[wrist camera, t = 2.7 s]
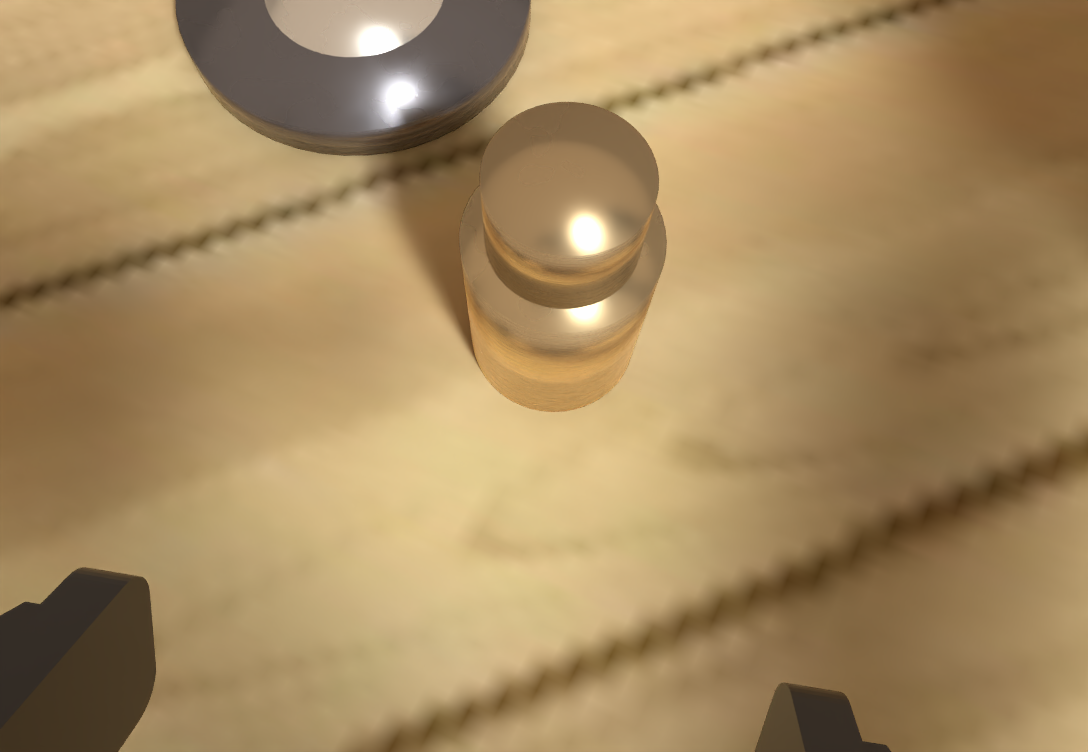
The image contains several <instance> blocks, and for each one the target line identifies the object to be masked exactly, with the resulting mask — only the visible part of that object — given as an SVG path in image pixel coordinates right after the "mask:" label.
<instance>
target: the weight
mask: <svg viewBox="0 0 1088 752" xmlns="http://www.w3.org/2000/svg"><path fill="white" fill-rule="evenodd" d="M658 190H659V175H658V168H657V164H656V160H655V157H654V155H653V153H652V150H651V149H650V147H649V145H648V143H647V142H646V140H645V139H644V138H643V137H642V135H641V134H640V133H639V132H638V131H637V130H636V129H635V128H634V127H633V126H632V125H631V124H629V123H628V122H627V121H625V120H624V119H623V118H621V117H619V116H618V115H616V114H614V113H612V112H610V111H608V110H605V109H603V108H600V107H597V106H594V105H589V104H584V103H576V102H557V103H549V104H544V105H540V106H536V107H534V108H531V109H528V110H526V111H524V112H522V113H520V114H518V115H516V116H515V117H513V118H512V119H510V120H509V121H508V122H506V123H505V124H504V125H503V126H502V127H501V128H500V129H499V130H498V131H497V132H496V133H495V135H494V136H493V137H492V139H491V140H490V142H489V143H488V145H487V148H486V150H485V152H484V154H483V158H482V161H481V167H480V185H479V186H478V187H477V188H476V190H475V191H474V193H473V194H472V196H471V197H470V199H469V201H468V203H467V205H466V208H465V210H464V213H463V216H462V220H461V224H460V231H459V247H460V255H461V262H462V270H463V277H464V284H465V292H466V299H467V306H468V314H469V321H470V329H471V336H472V343H473V350H474V354H475V357H476V360H477V363H478V365H479V367H480V369H481V371H482V373H483V374H484V376H485V377H486V379H487V380H488V381H489V382H490V383H491V385H492V386H493V387H494V388H495V389H496V390H497V391H499V392H500V393H501V394H502V395H504V396H505V397H507V398H508V399H510V400H511V401H513V402H515V403H517V404H519V405H522V406H525V407H527V408H530V409H535V410H539V411H548V412H560V411H568V410H574V409H577V408H581V407H584V406H586V405H588V404H591V403H593V402H595V401H596V400H598V399H600V398H601V397H603V396H604V395H605V394H607V393H608V392H609V391H610V390H611V389H612V388H613V387H614V386H615V385H616V384H617V383H618V381H619V380H620V379H621V377H622V376H623V374H624V372H625V370H626V368H627V367H628V364H629V361H630V358H631V356H632V353H633V350H634V347H635V344H636V342H637V339H638V336H639V333H640V330H641V328H642V325H643V322H644V319H645V316H646V314H647V311H648V308H649V305H650V302H651V299H652V297H653V294H654V291H655V288H656V285H657V283H658V280H659V277H660V274H661V271H662V269H663V266H664V261H665V256H666V244H667V240H666V230H665V226H664V222H663V218H662V215H661V213H660V210H659V208H658V206H657V204H656V199H657V195H658Z"/></svg>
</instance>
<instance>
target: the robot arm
mask: <svg viewBox="0 0 1088 752" xmlns="http://www.w3.org/2000/svg"><path fill="white" fill-rule="evenodd" d="M155 674H156V662H155V650H154V638H153V626H152V614H151V602H150V591H149V586H148V583H147V581H146V580H145V579H144V578H143V577H139V576H133V575H127V574H121V573H115V572H109V571H103V570H97V569H92V568H86V567H85V568H79V569H77V570H75V571H74V572H72V573H71V574H70V575H69V576H68V577H67V578H66V579H65V580H64V581H63V582H62V583H61V584H60V585H59V586H58V587H57V588H56V589H55V590H54V591H53V592H52V593H51V594H50V595H49V596H48V597H47V598H46V599H45V600H44V601H43V602H42V603H41V604H35V603H30V602H24V603H22V604H20V605H19V606H17V607H15V608H13V609H12V610H10V611H8V612H6V613H4V614H3V615H1V616H0V752H118V751H119V750H120V748H121V747H122V745H123V744H124V742H125V741H126V739H127V738H128V736H129V735H130V733H131V732H132V730H133V729H134V728H135V726H136V725H137V723H138V722H139V720H140V718H141V717H142V715H143V713H144V711H145V709H146V707H147V704H148V702H149V699H150V697H151V693H152V690H153V686H154V681H155ZM755 752H891V751H890V750H889V748H888V747H887V746H886V745H882V744H876V743H870V742H864V741H862V739H861V736H860V733H859V730H858V727H857V724H856V721H855V718H854V715H853V712H852V709H851V706H850V703H849V700H848V699H847V697H846V696H845V695H844V694H843V693H841V692H836V691H831V690H825V689H819V688H813V687H807V686H801V685H795V684H789V683H781V684H779V685H778V687H777V689H776V690H775V693H774V696H773V699H772V702H771V705H770V708H769V710H768V713H767V716H766V719H765V722H764V725H763V728H762V731H761V734H760V737H759V740H758V743H757V746H756V749H755Z"/></svg>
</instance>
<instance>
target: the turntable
mask: <svg viewBox="0 0 1088 752" xmlns="http://www.w3.org/2000/svg"><path fill="white" fill-rule="evenodd" d="M530 13H531V0H176V15H177V20H178V25H179V30H180V33H181V35H182V38H183V41H184V43H185V46H186V48H187V50H188V52H189V54H190V56H191V58H192V60H193V62H194V63H195V65H196V67H197V69H198V71H199V73H200V75H201V77H202V78H203V80H204V81H205V83H206V85H207V86H208V88H209V90H210V91H211V93H212V94H213V95H214V96H215V97H216V99H217V100H218V101H219V102H220V103H221V105H222V106H223V107H224V108H225V109H227V110H228V111H229V112H230V113H231V114H232V115H233V116H235V117H236V118H237V119H238V120H239V121H241V122H242V123H244V124H245V125H247V126H248V127H250V128H251V129H253V130H254V131H256V132H258V133H260V134H262V135H264V136H266V137H268V138H270V139H272V140H275V141H277V142H280V143H283V144H286V145H289V146H292V147H295V148H298V149H302V150H307V151H312V152H316V153H322V154H333V155H344V156H347V155H373V154H381V153H388V152H394V151H398V150H402V149H407V148H411V147H415V146H417V145H420V144H423V143H426V142H428V141H431V140H434V139H437V138H439V137H441V136H443V135H445V134H447V133H449V132H451V131H453V130H455V129H457V128H458V127H460V126H461V125H463V124H464V123H466V122H467V121H469V120H470V119H472V118H473V117H475V116H476V115H477V114H478V113H480V112H481V111H482V110H483V109H484V108H485V107H487V106H488V105H489V104H490V103H491V102H492V101H493V100H494V99H495V98H496V97H497V95H498V94H499V93H500V92H501V91H502V90H503V89H504V88H505V86H506V85H507V83H508V82H509V80H510V79H511V77H512V76H513V74H514V73H515V71H516V69H517V67H518V65H519V62H520V60H521V58H522V56H523V54H524V50H525V47H526V43H527V40H528V35H529V27H530Z"/></svg>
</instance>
